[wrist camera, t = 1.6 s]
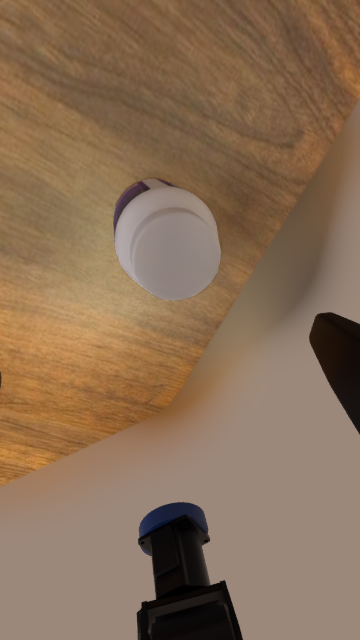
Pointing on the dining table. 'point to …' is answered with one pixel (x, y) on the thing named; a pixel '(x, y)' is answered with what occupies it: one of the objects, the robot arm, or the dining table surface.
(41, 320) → the dining table surface
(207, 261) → the pill bottle
